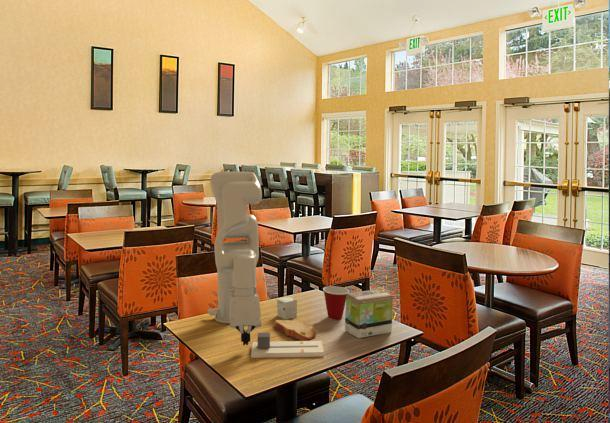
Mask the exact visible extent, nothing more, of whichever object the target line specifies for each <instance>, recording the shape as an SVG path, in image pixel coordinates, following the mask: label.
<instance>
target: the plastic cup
mask: <svg viewBox="0 0 610 423" xmlns="http://www.w3.org/2000/svg"><path fill="white" fill-rule="evenodd" d="M322 291H323V294H324V300H325V306H326V311H327V312H326V313H327V318H328V319H330V320H341V319H342V318H343V316H344V311H345V308H346V294H347V293H350V290H349V289H347V288H345V287H342V286H335V285H331V286H330V285H329V286H324V287H323V288H322Z"/></svg>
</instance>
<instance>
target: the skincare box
mask: <svg viewBox="0 0 610 423" xmlns="http://www.w3.org/2000/svg"><path fill="white" fill-rule="evenodd" d="M276 302H277V304H276V307H277V308H276V316H277V317H279V318H281V319H282V320H290V319H295V318H298V314H297V313H298V312H297V311H298V309H297V308H298V300H297V299H295V298H293V297H290V296H285V297H281V298H277V300H276Z"/></svg>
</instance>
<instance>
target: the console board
mask: <svg viewBox="0 0 610 423" xmlns="http://www.w3.org/2000/svg"><path fill="white" fill-rule="evenodd" d="M250 352H251V353H250V357H251V358H253V359H254V358H299V357H300V358H305V357H306V358H307V357H308V358H309V357H311V358H313V357H316V358H317V357H324V356H325V354H324V353H325V351H324V347H323V342H322V340H310V341H301V340H294V341H292V340H288V341H286V340H284V341H283V340H282V341H278V340H277V341H270V348H258V341H253V342H252V346H251V350H250Z"/></svg>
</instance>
